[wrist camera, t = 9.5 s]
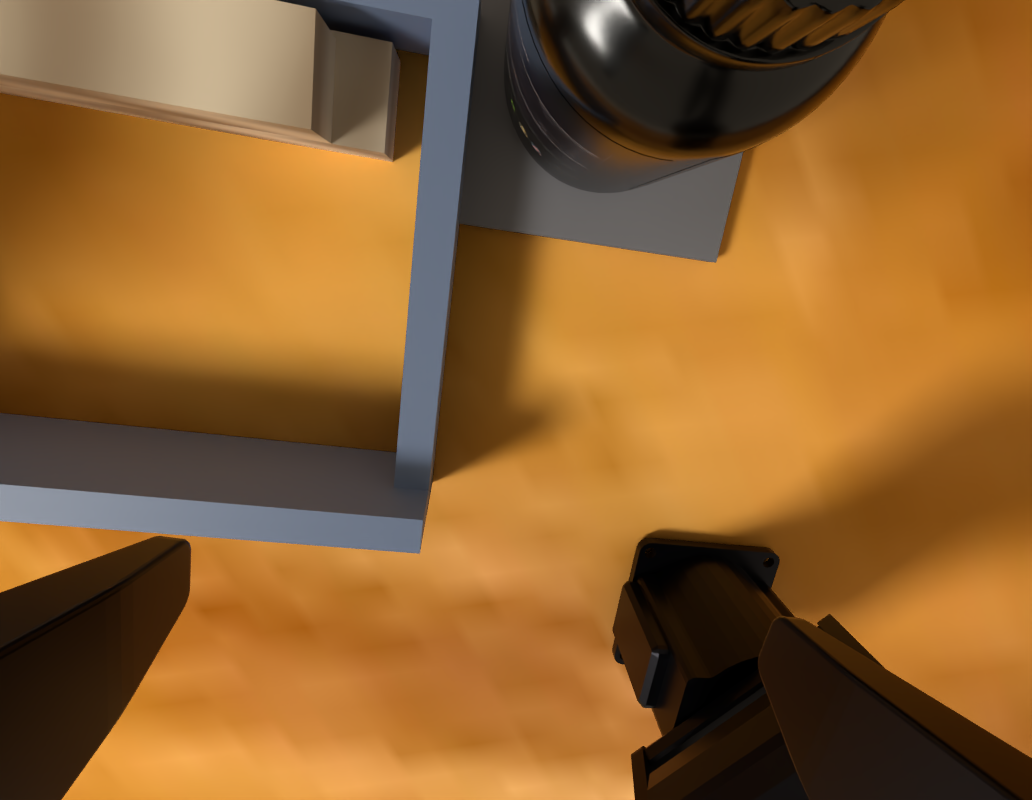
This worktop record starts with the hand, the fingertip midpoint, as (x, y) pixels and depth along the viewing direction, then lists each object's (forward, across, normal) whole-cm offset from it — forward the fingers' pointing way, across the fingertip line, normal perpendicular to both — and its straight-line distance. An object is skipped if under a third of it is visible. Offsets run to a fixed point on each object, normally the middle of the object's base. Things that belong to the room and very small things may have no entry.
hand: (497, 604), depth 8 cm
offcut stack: (+13, +11, -8) cm, 19 cm away
